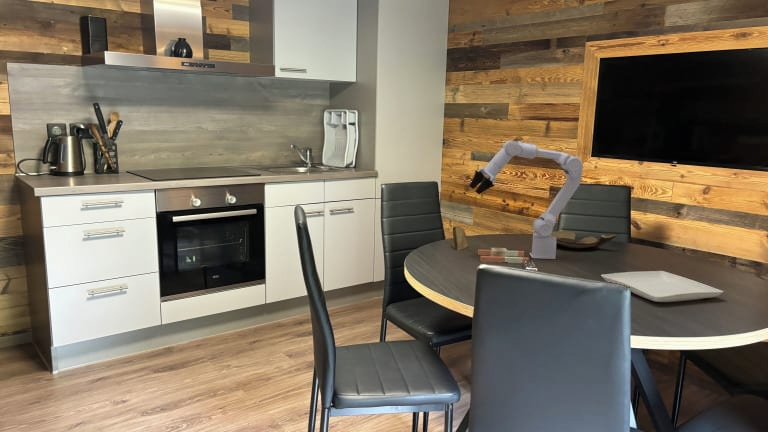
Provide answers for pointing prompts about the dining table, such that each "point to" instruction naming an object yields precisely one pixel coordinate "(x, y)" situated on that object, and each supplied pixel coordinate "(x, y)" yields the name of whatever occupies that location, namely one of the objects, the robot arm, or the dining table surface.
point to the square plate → (662, 286)
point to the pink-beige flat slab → (503, 259)
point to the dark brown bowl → (569, 237)
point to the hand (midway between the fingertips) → (474, 190)
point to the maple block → (499, 252)
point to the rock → (459, 238)
